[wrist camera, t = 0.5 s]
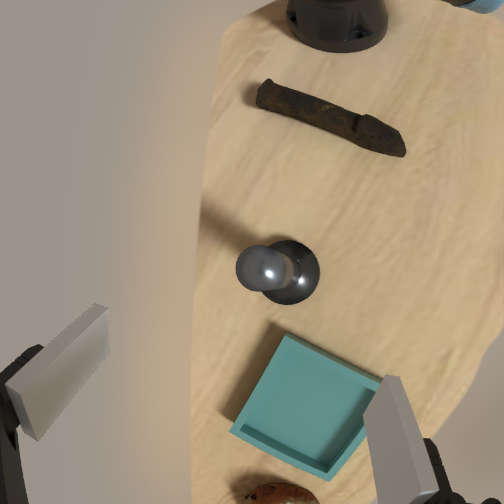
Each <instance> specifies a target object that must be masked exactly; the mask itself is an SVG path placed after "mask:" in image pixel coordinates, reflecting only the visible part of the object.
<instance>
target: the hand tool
mask: <svg viewBox="0 0 504 504" xmlns="http://www.w3.org/2000/svg"><path fill="white" fill-rule="evenodd" d="M256 104H257V106H259V107H260V108H261V109H266V108H268V109H269V110H271V111H272V112H276V111H277V112H280V113H283V114H285V115H287V116H290V117H293V118H298V119H300V120H303V121H306V122H308V123H309V124H311V125H315V126H318V127H321V128H323V129H326V130H328V131H331V132H333V133H336V134H338V135H341V136H343V137H345V138H347V139H350V140H352V141H353V142H355V143H356V144H358V146H360V147H362V148H365V149H368V150H371V151H374V152H378V153H382V154H386V155H390V156H396V157H404V156H405V154H406V148H405V143H404V141H403V139H402V137H401V135H400V133H399V131H397V130H395V129H394V128H392V127H390V126H389V125H387V124H385V123H383V122H382V121H380V120H378V119H377V118H375V117H373V116H371V115H367V114H365V115H363V116H362V115H360V114H357V113H354V112H351V111H348V110H346V109H344V108H342V107H340V106H337V105H334V104H332V103H330V102H327V101H325V100H322V99H319V98H317V97H314V96H311V95H308V94H305V93H302V92H300V91H297V90H293V89H290V88H287V87H284V86H281V85H278V84H276V83H274V82H273V81H272V80H271V79H269V78H268V79H267V80H265V82H264V83H263V84H262V85H261V87H259V89H258V94H257V98H256Z"/></svg>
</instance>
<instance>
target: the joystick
mask: <svg viewBox="0 0 504 504" xmlns="http://www.w3.org/2000/svg"><path fill="white" fill-rule="evenodd" d="M236 275H237V278H238V280H239V281H240V283H241V284H242V285H243V286H244V287H245V288H247V289H249V290H252V291H258V292H259V291H262V293H263V294H264V295H265V296H266V297H267V298H268V299H270V300H271V301H273V302H275V303H278V304H283V305H292V304H296V303H299V302H301V301H303V300H305V299H306V298H308V297H309V296H310V295H311V294H312V293H313V292H314V290H315V289H316V287H317V285H318V282H319V278H320V267H319V263H318V260H317V258H316V257H315V255H314V254H313V252H312V251H311V250H310V249H309V248H308V247H306V246H305V245H303V244H302V243H299V242H296V241H291V240H284V241H279V242H276V243H274V244H272V245H270V246H269V247H266V246H263V245H254V246H251V247H248V248H247V249H245V250H244V251H243V252H242V253H241V254H240V256H239V257H238V259H237V262H236Z"/></svg>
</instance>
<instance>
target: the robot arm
mask: <svg viewBox="0 0 504 504" xmlns="http://www.w3.org/2000/svg"><path fill="white" fill-rule="evenodd" d="M441 1H444V2H447V3H450V4H451V5H453V6H455V7H459V8H465V9H468V10H471V11H474V12H477V13H481V14H488V13H491V12H493V11H495V10H497V9H498V8H499V7H500V6H501V5H502V4H503V2H504V0H441ZM286 16H287V20H288V24H289V27H290V29H291V31H292V33H293V34H294V35H295V36H296V37H297V38H298V39H299V40H300V41H302V42H303V43H305V44H307V45H309V46H311V47H313V48H316V49H319V50H323V51H328V52H335V53H350V52H358V51H362V50H365V49H368V48H370V47H373V46H374V45H376V44H377V43H379V42H380V41H381V40H382V39H383V38H384V36H385V34H386V32H387V26H388V13H387V10H386V7H385V4H384V2H383V0H288V3H287V8H286ZM109 354H110V350H109V308H107V307H104V306H102V305H99V304H96V303H95V304H94V305H93V306H92V307H90V308H89V309H88V310H87V311H85V312H84V313H83V314H82V315H81V316H80V317H79V318H77V319H76V320H75V321H74V322H73V323H71V324H70V325H69V326H68V327H67V328H66V329H65V330H63V331H62V332H61V333H60V334H59V335H58V336H57V337H55V338H54V339H53V340H52V341H51V342H50V343H49V344H48V345H46V346H45V347H43V346H41V345H39V344H38V345H35V346H33V347H30V348H28V349H27V350H26V351H25V352H23V353H22V354H21V356H19V357H18V358H17V359H15V362H12V363H11V364H10V365H9V366H8V367H6V368H5V369H4V370H3V371H2V372H1V373H0V504H29V503H28V498H27V494H26V489H25V484H24V478H23V472H22V467H21V459H20V452H19V444H18V434H17V431H16V428H17V427H18V426H19V424H20V425H21V427H22V429H23V431H24V433H25V434H27V435H29V436H30V437H32V438H33V439H35V440H36V441H39V440H40V439H41V438H42V437H43V435H44V434H45V433H46V431H47V430H48V429H49V428H50V426H51V425H52V424H53V422H54V421H55V420H56V419H57V417H58V416H59V415H60V414H61V412H62V411H63V410H64V409H65V407H66V406H67V405H68V404H69V402H70V401H71V400H72V399H73V397H74V396H75V395H76V394H77V392H78V391H79V390H80V389H81V388H82V386H83V385H84V384H85V383H86V382H87V380H88V379H89V378H90V377H91V376H92V374H93V373H94V372H95V370H97V368H98V367H99V366H100V365H101V364H102V362H103V361H104V360H105V359H106V358H107V356H108V355H109ZM363 419H364V424H365V429H366V434H367V440H368V445H369V450H370V456H371V461H372V467H373V473H374V479H375V485H376V491H377V497H378V504H471V503H466V501H465V500H464V498H463V497H462V496H460V495H459V494H458V493H455V492H452V490H451V487H450V484H449V481H448V478H447V475H446V472H445V469H444V466H443V465H442V460H441V458H440V455H439V452H438V450H437V447H436V445H435V444H434V443H433V442H432V441H431V439H430V438H422V435H421V432H420V430H419V427H418V424H417V421H416V419H415V416H414V413H413V411H412V408H411V405H410V403H409V400H408V397H407V395H406V392H405V390H404V387H403V385H402V382H401V380H400V377H399V376H391V375H385V377H384V378H383V380H382V382H381V384H380V386H379V388H378V389H377V391H376V393H375V395H374V397H373V398H372V400H371V402H370V403H369V405H368V407H367V409H366V410H365V412H364V414H363ZM481 504H501V502H500V501H499V500H497V499H495V498H488V499H486V500H485V501H484V502H482V503H481Z"/></svg>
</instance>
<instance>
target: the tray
mask: <svg viewBox="0 0 504 504" xmlns="http://www.w3.org/2000/svg"><path fill="white" fill-rule="evenodd" d="M381 382H382V379H380V378H378V377H376V376H374V375H372V374H370V373H367V372H365V371H363V370H361V369H359V368H357V367H355V366H353V365H351V364H349V363H347V362H345V361H343V360H341V359H339V358H337V357H335V356H333V355H331V354H329V353H327V352H326V351H324V350H322V349H320V348H318V347H316V346H314V345H312V344H310V343H308V342H306V341H304V340H302V339H300V338H299V337H297V336H295V335H293V334H291V333H289V332H287V333H286V335H285V336H284V337H283V339H282V341H281V343H280V345H279V347H278V348H277V350H276V352H275V354H274V356H273V357H272V359H271V361H270V363H269V365H268V366H267V368H266V370H265V372H264V373H263V375H262V377H261V379H260V380H259V382H258V384H257V385H256V387H255V389H254V391H253V392H252V394H251V396H250V397H249V399H248V401H247V402H246V404H245V406H244V408H243V409H242V411H241V413H240V414H239V416H238V417H237V419H236V421H235V422H234V424H233V426H232V427H231V429H230V431H229V432H230V433H232V434H234V435H235V436H237V437H239V438H241V439H242V440H244V441H246V442H248V443H250V444H252V445H253V446H255V447H257V448H259V449H261V450H263V451H265V452H267V453H268V454H270V455H272V456H274V457H276V458H278V459H280V460H282V461H284V462H286V463H289V464H291V465H293V466H295V467H297V468H299V469H301V470H303V471H306V472H308V473H310V474H312V475H315V476H317V477H319V478H322V479H324V480H326V481H329V482H330V481H331V479H332V478H333V477H334V476H335V475H336V473H337V472H338V471H339V470H340V469H341V467H342V466H343V465H344V464H345V463H346V461H347V460H348V459H349V458H350V456H351V455H352V454H353V453H354V451H355V450H356V449H357V447H358V446H359V445H360V443H361V442H362V441H363V439H364V438H365V437H366V435H367V434H366V429H365V424H364V419H363V414H364V412H365V410H366V409H367V407H368V405H369V403H370V402H371V400H372V398H373V397H374V395H375V393H376V391H377V389H378V388H379V386H380V384H381Z"/></svg>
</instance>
